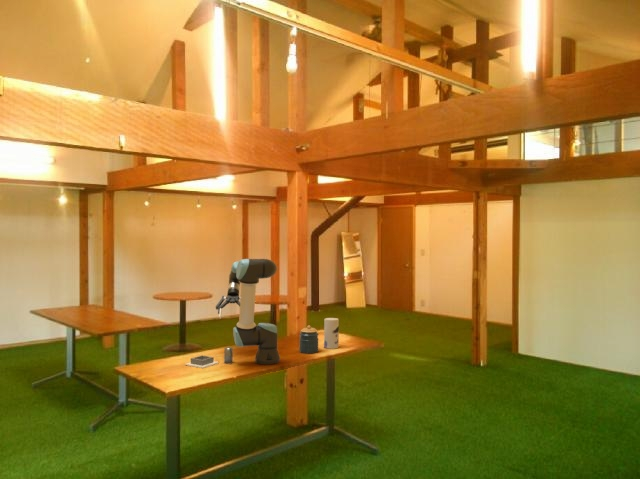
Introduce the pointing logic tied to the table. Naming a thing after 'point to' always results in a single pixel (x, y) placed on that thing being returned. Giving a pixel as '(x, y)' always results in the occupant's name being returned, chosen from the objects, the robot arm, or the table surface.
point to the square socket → (202, 362)
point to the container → (331, 333)
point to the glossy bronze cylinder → (228, 355)
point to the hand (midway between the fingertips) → (230, 317)
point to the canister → (308, 340)
